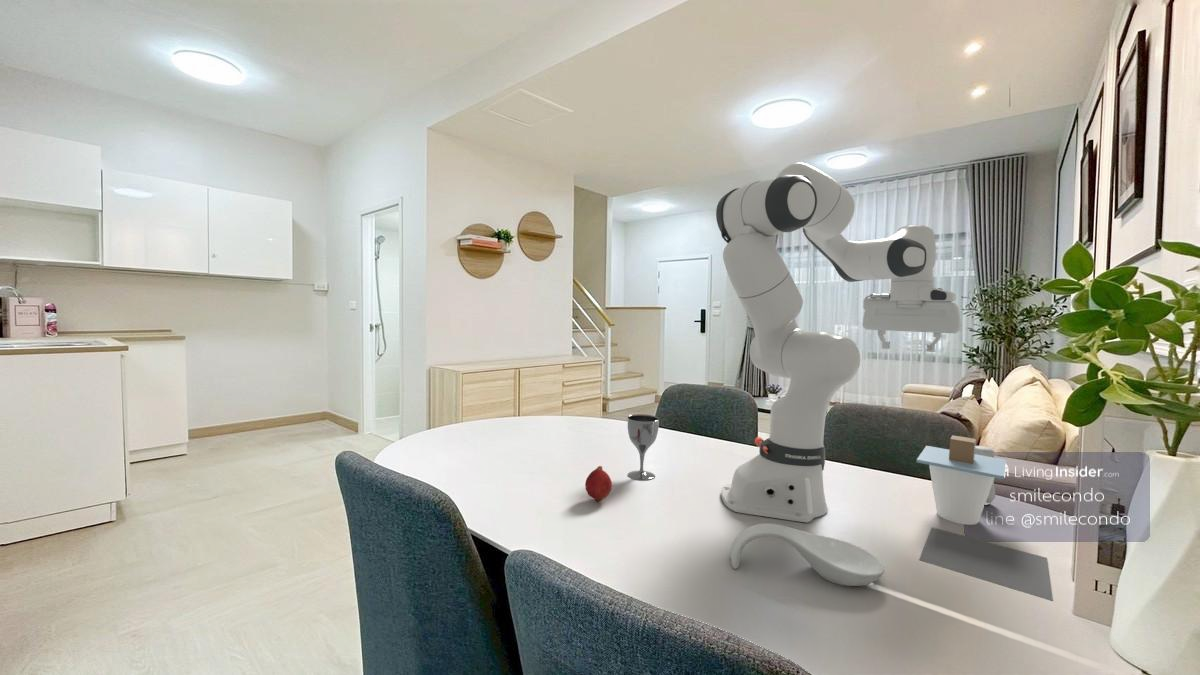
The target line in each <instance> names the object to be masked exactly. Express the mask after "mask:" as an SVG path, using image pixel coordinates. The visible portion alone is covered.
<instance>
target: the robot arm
mask: <svg viewBox="0 0 1200 675" xmlns="http://www.w3.org/2000/svg"><path fill="white" fill-rule="evenodd" d="M717 203H718V204H717V206H716V209H715V212H716V213H715V216H716V217H715V218H716V222H717V226H718V229H719V231H720V235H721V237H722V239H723V241H725V243H726V245H725V247H724V248H723V252H722V259H723V264H724V266H725V270H726V272H727V275H728V278H729V280H730V283H731V285H732V287H733V289H734V291H735V294H737V296H738V298H739V300H740V302H741V305H742V306H743V308H744V310H745V312H746V313H747V315H748V318H749V319H750V322H751V324H752V328H753V332H754V337H753V338H752V340H751V343H750V346H749V357H750V358H749V359H750V361H751V363H752V364H753V366H755V367H756V368H757V369H759V370H761V371H763V372H764V373H767V374H768V375H771V376H776V377H780V378H784V379H790V383H789V386H788V389H787V392H786V393H785V395H784V396H782V397H780V398H778V399H776V400H775V401H774V402H772V405H771V407H770V421H769V437H768V438H766V439H763V438H762V437H760V436H756V437H755V439H754V444H755V445H756V447H757V448H759V451H758V452H759V454H757V455H755V456H754V457H753V458H751V459H750V460H747V461H746V462H744V463H742V464H741V465H738V467H737V468H736V469H735V470H734V473H733V477H732V481H731V484H725V485H724V486H723V487H722V488H721V493H720V496H721V500H722V502H723V504H724V505H725V506H726V507H728V509H730V510H731V511H733V512H736V513H739V514H740V513H741V514H747V515H751V516H759V517H760V516H761V517H766V518H767V517H768V518H774V519H781V520H786V521H793V522H800V523H801V522H802V523H811V521H812V520H813V519H815V518H818V517H822V516H824V515H826V514H827V513H828V511H829V510H828V504H827V500H826V496H825V490H824V489H825V488H824V479H823V477H824V476H823V475H824V473H823V471H825V464H826V445H824V437H825V436H824V434H825V424H826V415H827V412H828V409H829V408H828V407H829V405H830V402H831V400H832V399H833V396H834V395H835V394H836V393H837V391H838V390H839V389H840V388H842V387H843V386H844V385H846V384H847V383H849V382H850V381H851V380H852V379H853V378H854V377H855V376H856V375H857V373H858V371H859V369H860V365H861V353H860V351H859V348H858V346H857V344H856V343H855V342H854V341H853V340H852V339H850V338H849V337H846V336H842V335H839V334H837V333H833V332H828V331H819V330H818V331H817V330H805V329H802V328H801V327H800V326H799V325H798V324H797V321H796V318H797V317H798V316H799V314H800V313H801V311H802V308H803V304H804V303H803V302H804V300H803V297H802V295H801V293H800V291H799V289H798V287H797V285H796V283H795V280H794V279H793V276H792V275H791V273H790V271H789V268H788V267H787V265H786V264H785V262H784V260H783V258H782V256H781V255H780V253H779V252H778V249H777V245H776V244H777V243H776V242H777V241H776V235H780V234H783V233H792V232H794V231H797V230H800V229H802V232H803V235H804V237H805V238H806V240H808V242H809V243H810V244H811V245H812V246H813V248H816V250H817V251H819V252H820V253H821V254H822V255H823V256H824V257H825V258H826V259H827V260H828V261H829V262H830V263H831V264H832V266H833V267H834V269H835V271H836V273H837V274H838V275H839V277H840V278H842V280H843V281H846V282H849V283H853V282H861V281H862V282H863V281H874V280H875V281H876V280H890V290H889V292H890V293H879V294H878V293H870V295H867V296H866V297H864V299H863V303H862V304H863V306H862V307H863V310H864V312H863V318H862V324H861V325H862V327H863V329H865V330H867V331H869V330H870V331H877V336H878V339H879V340H880V341H881V349H885V350H886V349H887V350H889V349H890V348H891V341H887V340H886V338H885V335H886V334H887V333H886V332H887V331H889V332H890V331H891V332H895V331H896V332H913V333H932V334H933V335H932V337H933V338H934V340H933V341H932V342H931V343H927V344H926V352H927V353H928V352H932V353H934V352H936V345H937V343H938V342H939V341H940V340H941V338H942V334H957V333H959V332H960V331H961V323H962V322H961V313H960V309H959V306H958V304H956V303H955V300H956V298H957V294H956V293H955V292H953V291H949V290H946V289H944V288H940V287H935V278H934V274H933V271H934V267H935V264H936V253H937V252H936V251H937V250H936V248H937V247H936V237H935V233H934V230H933V229H932V228H931V227H929V226H926V225H921V224H920V225H918V224H917V225H916V224H910V225H909V224H908V225H905V226H901V227H899V228H898V229H897V230H896V233H894V234H893V235H890V236H888V237H885V238H879V239H870V240H863V241H859V240H858V241H853V240H852V241H851V240H848V239H846V238H845V236H844V235H842V234H841V233H843V232H844V231H845V230H846V228H848V226H849V225H850V223H851V221H852V219H853V217H854V213H855V207H856V206H855V200H854V197H853V196H852V194H851V193H850V192H849V191H848V189H847V188H845V187H844V186H843V185H841V184H840V183H839V182H838V181H837V180H835V179H834V178H833V177H831V176H830V175H828V174H827V173H825V172H823V171H821V170H820V169H818V168H817V167H814V166H813V165H810V164H808V163H804V162H795V163H791V164H789V165H787V166H785V167H784V168H783V169H782V170H781V171H780V172H779V173H778V174H777V176H776V177H775V178H770V179H765V180H758V181H753V182H751V183H748V184H745V185H744V186H741V187H738V188H733V189H732V190H730V191H729V192H727V193H725V195H723V196H722V197H721V198H720V199H719V201H718V202H717Z"/></svg>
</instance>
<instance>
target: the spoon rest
mask: <svg viewBox="0 0 1200 675" xmlns="http://www.w3.org/2000/svg"><path fill="white" fill-rule="evenodd" d="M763 537H775V538H778V539H781V540H783V541H785V542H787V543H788V544H790V545H791V546H792V547H793V548H794V549H795V550H796V551H797V552H798V553H799V554H800V556H802V557H803V559H804V560H805V561H806V562H807V563H808V564H809V566H810V567H811V568H813V570H814V571H815V572H816V573H818V575H820V576H821V577H822V578H823V579H825V580H826V579H827V581H828V580H829V582H830V581H831V583H833V582H834V583H833V584H835V583H837V584H836V585H839V584H841V585H840V586H843V585H848V586H847V587H856V586H857V587H859V586H860V587H861V586H866V585H869V584H871V583H873V582H875V581H877V580H878V579H880V578H881V577H883V575H884V573H885V570H886V569H885V565H884V564H883V562H882V561H881V560H880V559H879V557H877V556H876V555H874V553H872V552H870V551H868V550H867V549H865V548H863V547H861V546H858V545H856V544H853V543H850V542H847V541H845V540H840V539H838V538H834V537H830V536H825V535H820V534H815V533H812V532H808V531H804V530H801V529H797V528H793V527H790V526H786V525H782V524H776V523H759V524H758V523H757V524H754V525H750V526H748V527H746V528H744V529H743V530H741V531H740V532H739V533H738V534H737V535H736V537H735V538H734V540H733V541H732V544H731V547H730V551H729V558H730V562H731V564H730V565H731V566H732V567H731V568H733V570H737V569H738V568H739V567H740V561H741V556H742V552H743V550H744V548H745V547H746V546H747V544H749V543H750V542H753V540H755V539H759V538H763Z"/></svg>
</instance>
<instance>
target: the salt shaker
mask: <svg viewBox="0 0 1200 675" xmlns="http://www.w3.org/2000/svg"><path fill="white" fill-rule="evenodd" d="M975 454H976V455H982V456H988V457H993V458H995V450H993V448H991V447H989V446H988V447H987V446H984V445H975ZM994 481H995V480H994ZM994 481H993V484H992V486H991V489H990V492H989V494H988V497H987V500H986V502H987V503H990V504H991V503H993V501H994V500H995V499H996V490H995V488H996V487H995V483H994Z"/></svg>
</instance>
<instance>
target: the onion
mask: <svg viewBox="0 0 1200 675" xmlns="http://www.w3.org/2000/svg"><path fill="white" fill-rule="evenodd" d="M612 483H613V482H612V479H611V477H610V475H609V474H608V473H607V472H606V471H604V469H603V466H602V465H599V466H597V467H596V468H595V469H594V470H592V471H591V472H590V473H589V474H588V476H587V477H586V480H585V484H584V487H585V491H586V493H587V495H588V496H589V497H590V498H592V499H593V500H595V501H596V502H599V503H600V502H601V501H602V500H604V499H606V497H607V496H608V495H610V492H612V491H611V490H612V488H613V484H612Z"/></svg>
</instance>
